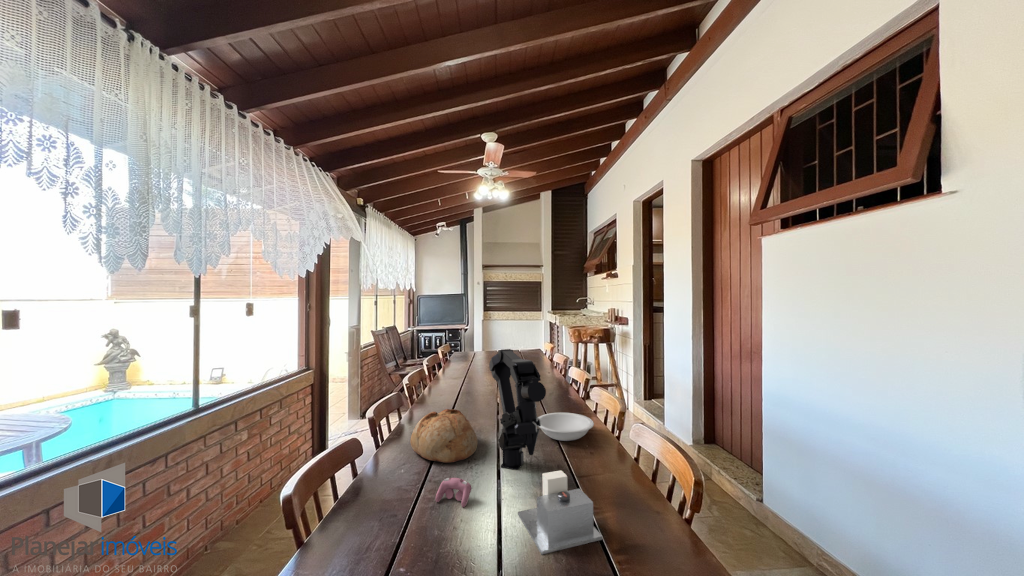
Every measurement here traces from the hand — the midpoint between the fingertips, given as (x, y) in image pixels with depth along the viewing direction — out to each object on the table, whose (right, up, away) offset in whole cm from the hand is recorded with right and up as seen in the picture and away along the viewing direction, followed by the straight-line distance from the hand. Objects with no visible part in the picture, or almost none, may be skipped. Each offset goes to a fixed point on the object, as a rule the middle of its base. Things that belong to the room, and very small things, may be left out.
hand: (531, 455), depth 114 cm
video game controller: (-23, -11, -5) cm, 26 cm away
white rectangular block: (+6, -10, -19) cm, 22 cm away
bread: (-32, -12, +30) cm, 45 cm away
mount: (+6, -11, -17) cm, 21 cm away
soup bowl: (+16, -12, +42) cm, 47 cm away
